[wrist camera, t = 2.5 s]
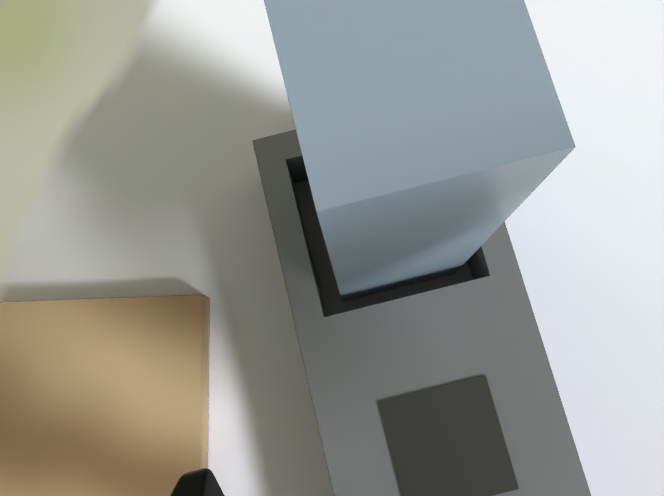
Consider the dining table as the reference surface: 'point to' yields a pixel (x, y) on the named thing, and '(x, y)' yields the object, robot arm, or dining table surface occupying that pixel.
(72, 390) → the cork mat
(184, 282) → the dining table surface
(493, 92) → the plug
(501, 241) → the gray slotted board
